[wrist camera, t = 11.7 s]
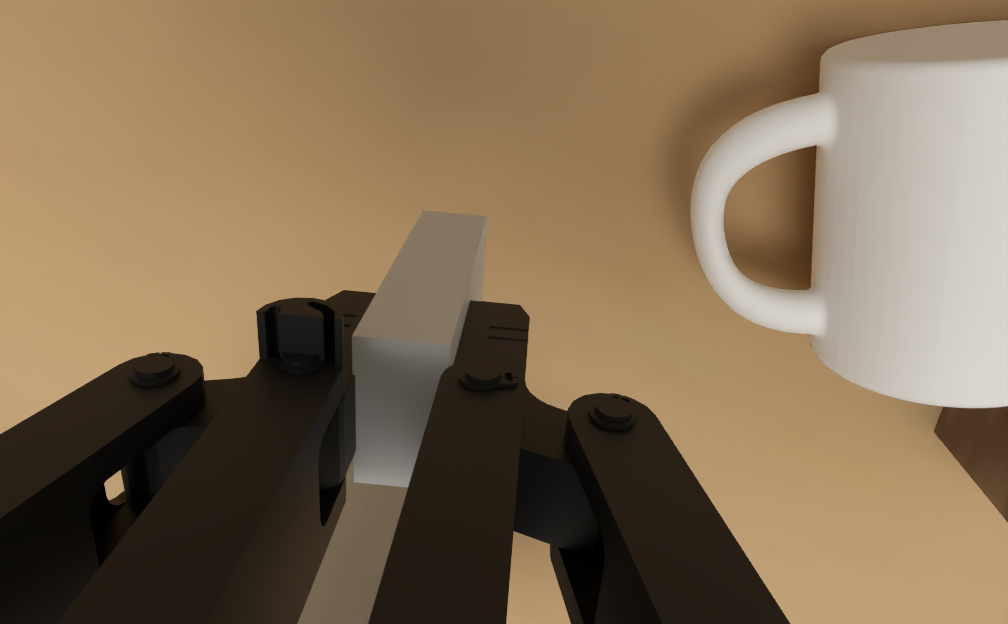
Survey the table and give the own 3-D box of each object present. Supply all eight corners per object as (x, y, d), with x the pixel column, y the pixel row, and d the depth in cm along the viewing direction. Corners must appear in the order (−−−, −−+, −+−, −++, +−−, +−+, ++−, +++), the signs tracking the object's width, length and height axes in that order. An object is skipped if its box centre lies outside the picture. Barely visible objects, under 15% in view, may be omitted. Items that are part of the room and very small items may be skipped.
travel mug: (416, 347, 31) (260, 773, 15) (548, 462, 33) (540, 949, 17) (299, 453, 33) (57, 913, 17) (428, 553, 36) (320, 1049, 19)
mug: (1039, 10, 24) (1247, 29, 17) (996, 289, 28) (1148, 400, 21) (668, 59, 25) (712, 96, 18) (678, 318, 30) (718, 432, 22)
